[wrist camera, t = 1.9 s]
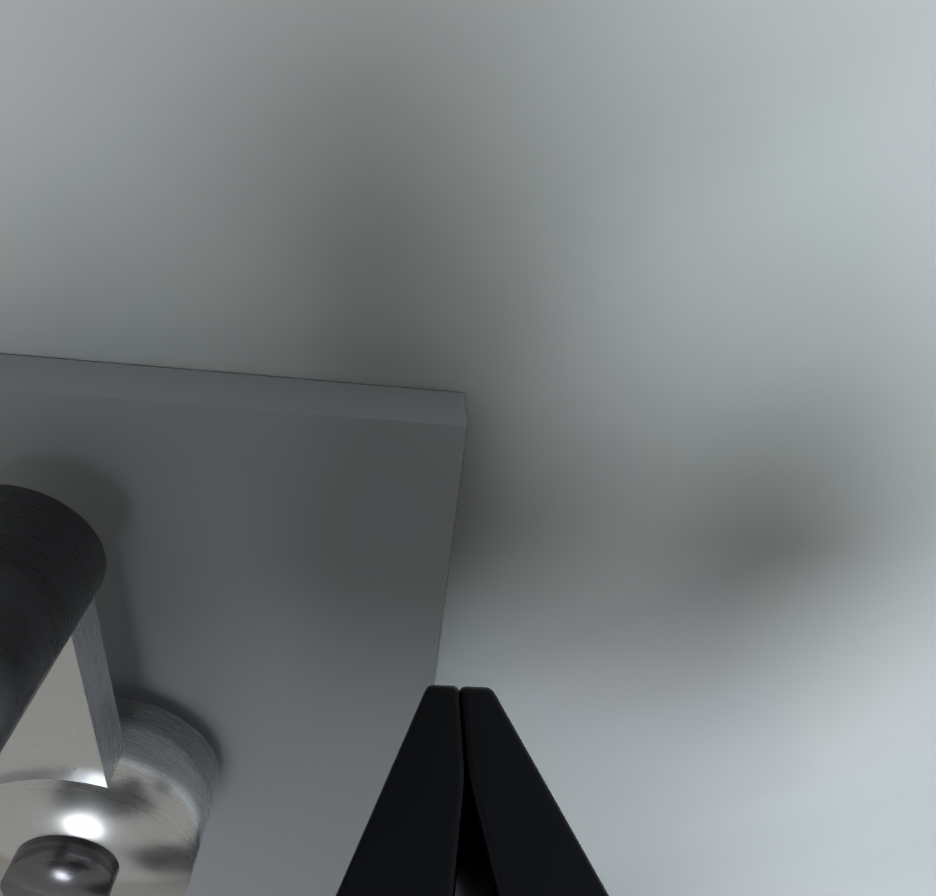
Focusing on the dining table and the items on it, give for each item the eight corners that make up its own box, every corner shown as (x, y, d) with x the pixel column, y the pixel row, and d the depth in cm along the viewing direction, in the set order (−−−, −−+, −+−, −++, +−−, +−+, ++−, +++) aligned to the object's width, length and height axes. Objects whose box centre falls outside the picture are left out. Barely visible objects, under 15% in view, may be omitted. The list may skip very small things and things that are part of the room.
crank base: (402, 888, 20) (397, 1043, 17) (-78, 881, 19) (-177, 1046, 16) (464, 392, 12) (474, 516, 9) (-363, 323, 11) (-677, 438, 8)
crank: (225, 829, 16) (126, 1212, 11) (21, 824, 15) (-186, 1221, 10) (187, 458, 11) (-34, 844, 6) (-116, 436, 10) (-650, 830, 5)
